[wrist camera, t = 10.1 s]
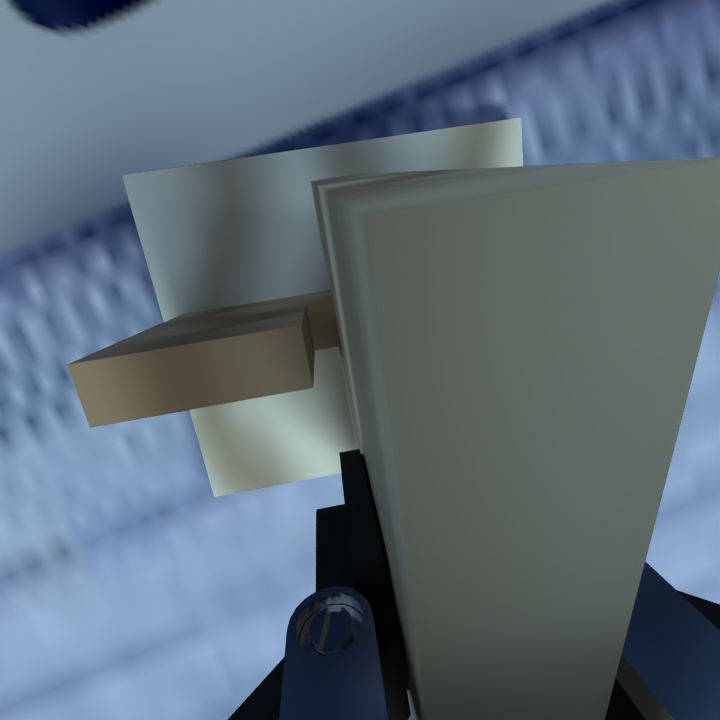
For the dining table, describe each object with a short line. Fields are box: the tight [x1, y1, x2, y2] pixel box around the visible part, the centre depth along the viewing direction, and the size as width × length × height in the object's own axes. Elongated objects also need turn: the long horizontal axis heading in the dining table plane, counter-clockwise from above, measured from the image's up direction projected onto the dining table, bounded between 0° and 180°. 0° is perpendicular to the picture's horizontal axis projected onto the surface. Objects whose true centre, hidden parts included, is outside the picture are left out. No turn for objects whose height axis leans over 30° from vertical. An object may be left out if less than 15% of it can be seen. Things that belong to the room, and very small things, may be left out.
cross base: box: [68, 118, 523, 497], centre depth 18 cm, size 20×18×11 cm
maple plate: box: [311, 157, 720, 720], centre depth 13 cm, size 2×16×16 cm, turn 9°
